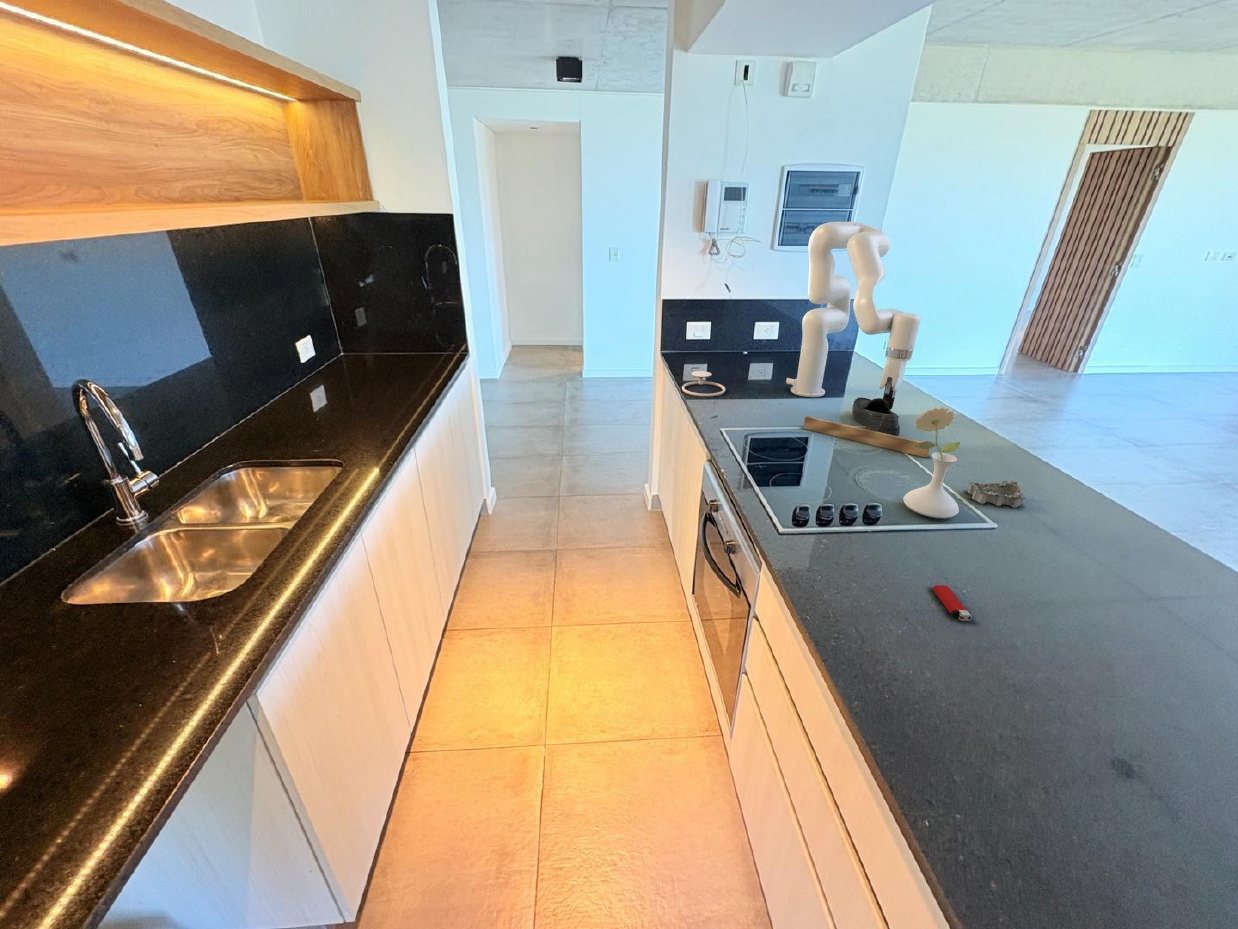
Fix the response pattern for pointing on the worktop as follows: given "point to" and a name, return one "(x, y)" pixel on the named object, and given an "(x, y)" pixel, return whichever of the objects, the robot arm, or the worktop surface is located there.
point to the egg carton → (997, 493)
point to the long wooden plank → (865, 436)
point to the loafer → (876, 415)
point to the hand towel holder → (702, 375)
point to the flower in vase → (935, 470)
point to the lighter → (952, 602)
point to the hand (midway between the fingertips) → (886, 408)
